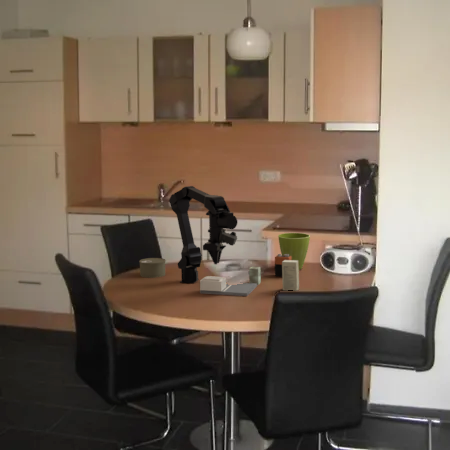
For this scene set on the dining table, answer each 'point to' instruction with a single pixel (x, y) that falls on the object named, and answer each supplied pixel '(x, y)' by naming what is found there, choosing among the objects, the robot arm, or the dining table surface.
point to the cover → (213, 283)
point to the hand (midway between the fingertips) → (216, 263)
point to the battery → (280, 263)
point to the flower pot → (294, 246)
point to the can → (152, 267)
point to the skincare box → (290, 275)
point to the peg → (254, 275)
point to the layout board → (234, 289)
